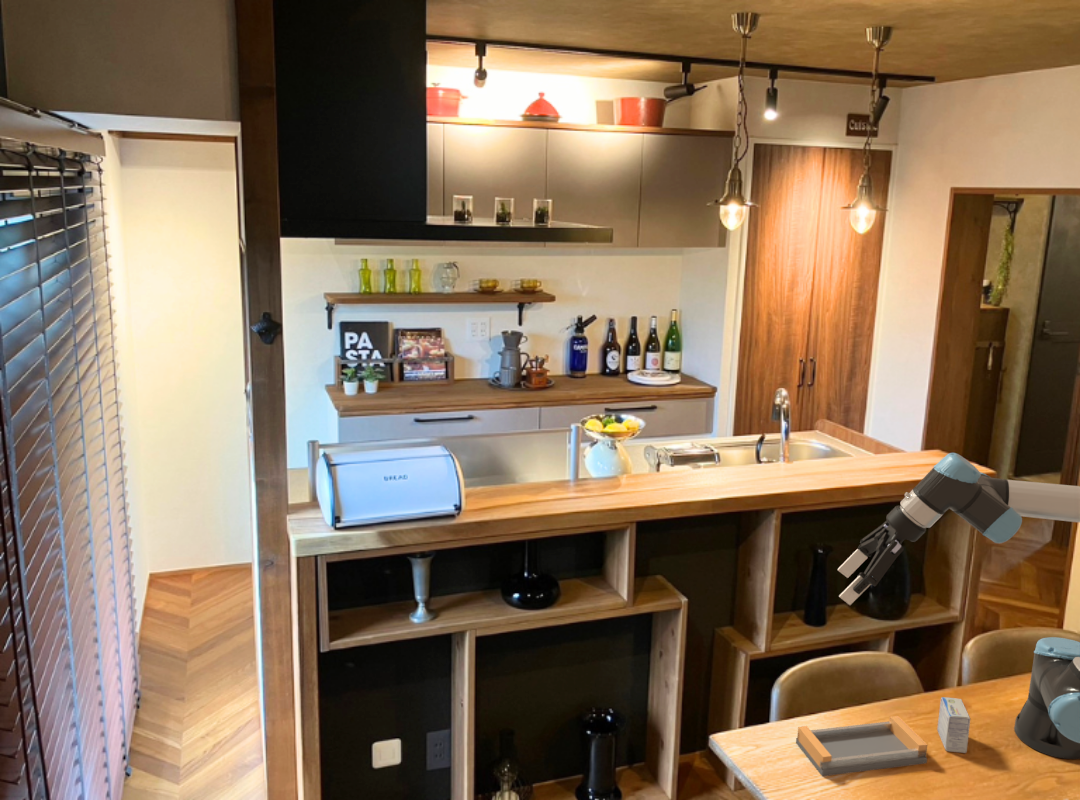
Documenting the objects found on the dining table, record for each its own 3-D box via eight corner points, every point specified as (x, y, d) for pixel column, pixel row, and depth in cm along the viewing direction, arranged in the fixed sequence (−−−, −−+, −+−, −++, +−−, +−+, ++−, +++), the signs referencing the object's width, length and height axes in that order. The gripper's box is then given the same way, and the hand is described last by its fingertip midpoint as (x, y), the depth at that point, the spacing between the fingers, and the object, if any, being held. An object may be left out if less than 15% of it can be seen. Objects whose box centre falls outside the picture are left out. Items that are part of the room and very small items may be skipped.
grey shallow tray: (895, 731, 200) (896, 714, 199) (926, 763, 189) (928, 745, 188) (795, 742, 195) (797, 725, 194) (822, 776, 184) (823, 758, 183)
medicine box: (966, 754, 192) (971, 718, 190) (944, 751, 193) (949, 715, 191) (957, 733, 199) (962, 698, 197) (936, 730, 200) (940, 696, 198)
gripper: (893, 485, 195) (828, 552, 203) (903, 526, 172) (830, 600, 180) (921, 507, 195) (855, 573, 202) (935, 551, 172) (860, 624, 179)
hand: (843, 586), depth 191 cm, fingers open, 13 cm apart
